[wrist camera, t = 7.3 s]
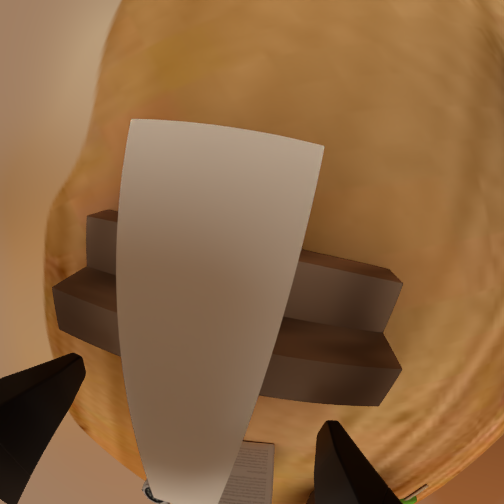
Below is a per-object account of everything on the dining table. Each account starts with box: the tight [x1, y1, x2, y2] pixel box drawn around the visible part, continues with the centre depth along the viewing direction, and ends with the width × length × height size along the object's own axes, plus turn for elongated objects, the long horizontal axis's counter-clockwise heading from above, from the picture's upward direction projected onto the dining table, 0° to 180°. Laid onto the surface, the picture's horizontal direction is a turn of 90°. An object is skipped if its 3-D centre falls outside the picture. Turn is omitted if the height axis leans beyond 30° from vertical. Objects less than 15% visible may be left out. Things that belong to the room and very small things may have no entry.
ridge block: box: [52, 210, 403, 406], centre depth 12 cm, size 16×8×5 cm, turn 79°
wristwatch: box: [142, 480, 170, 504], centre depth 20 cm, size 4×6×5 cm, turn 10°
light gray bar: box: [116, 119, 325, 504], centre depth 8 cm, size 3×16×4 cm, turn 169°
